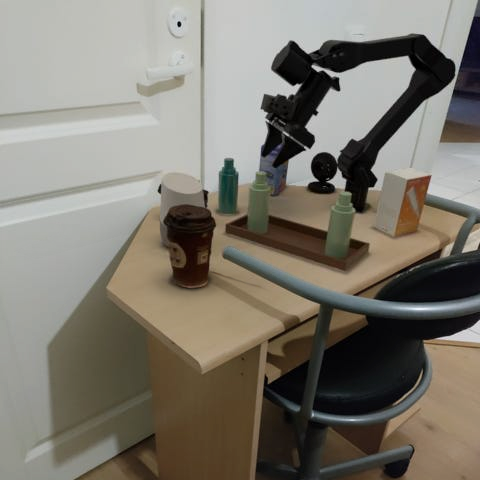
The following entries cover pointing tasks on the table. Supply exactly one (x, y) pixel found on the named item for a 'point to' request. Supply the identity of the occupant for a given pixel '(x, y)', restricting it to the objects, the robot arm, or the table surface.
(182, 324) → the table surface
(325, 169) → the webcam
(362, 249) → the tray
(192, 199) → the smart speaker
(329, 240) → the sage bottle
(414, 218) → the small box
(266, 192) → the sage bottle
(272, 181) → the ink cartridge box
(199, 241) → the coffee cup
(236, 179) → the teal bottle
